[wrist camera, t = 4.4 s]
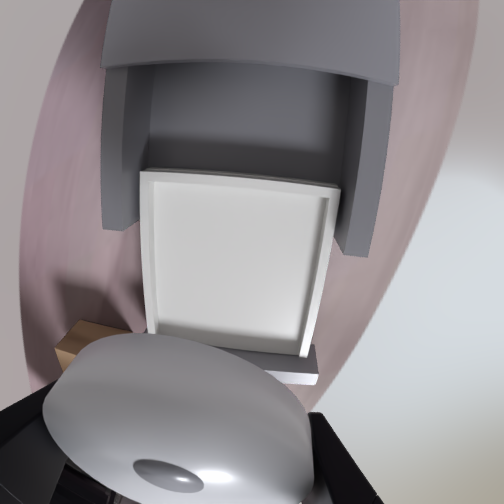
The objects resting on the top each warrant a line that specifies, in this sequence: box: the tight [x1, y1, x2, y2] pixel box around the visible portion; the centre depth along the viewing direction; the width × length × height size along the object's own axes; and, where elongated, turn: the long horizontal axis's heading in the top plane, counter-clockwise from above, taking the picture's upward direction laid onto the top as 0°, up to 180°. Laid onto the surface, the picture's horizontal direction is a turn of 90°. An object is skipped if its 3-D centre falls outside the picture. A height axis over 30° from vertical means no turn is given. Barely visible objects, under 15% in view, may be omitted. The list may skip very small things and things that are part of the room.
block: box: [55, 320, 133, 373], centre depth 21 cm, size 5×5×4 cm
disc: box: [43, 333, 314, 504], centre depth 7 cm, size 7×7×2 cm
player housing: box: [100, 0, 400, 258], centre depth 13 cm, size 14×13×5 cm
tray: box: [140, 167, 341, 385], centre depth 17 cm, size 12×12×3 cm
